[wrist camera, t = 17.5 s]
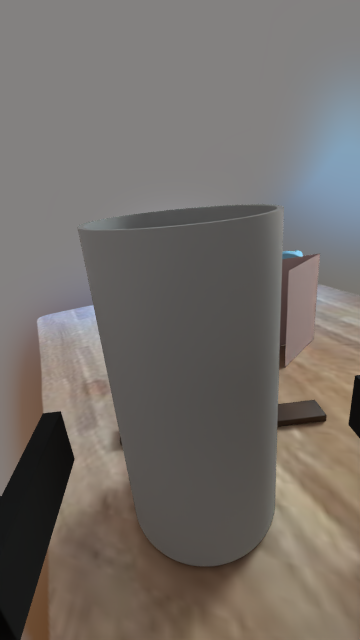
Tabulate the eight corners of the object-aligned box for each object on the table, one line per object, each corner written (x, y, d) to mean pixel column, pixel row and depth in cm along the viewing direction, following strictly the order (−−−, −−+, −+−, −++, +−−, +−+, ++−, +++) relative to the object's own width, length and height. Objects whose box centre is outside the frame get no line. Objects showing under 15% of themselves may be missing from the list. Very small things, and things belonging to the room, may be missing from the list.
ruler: (314, 404, 40) (314, 399, 40) (326, 420, 38) (326, 414, 37) (123, 428, 40) (122, 422, 39) (120, 445, 37) (119, 440, 36)
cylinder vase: (239, 435, 37) (232, 203, 27) (304, 542, 25) (333, 207, 16) (129, 464, 34) (80, 220, 25) (148, 597, 23) (71, 239, 13)
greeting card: (310, 336, 57) (316, 252, 52) (338, 355, 51) (349, 261, 45) (251, 348, 55) (250, 262, 50) (272, 370, 48) (274, 273, 43)
